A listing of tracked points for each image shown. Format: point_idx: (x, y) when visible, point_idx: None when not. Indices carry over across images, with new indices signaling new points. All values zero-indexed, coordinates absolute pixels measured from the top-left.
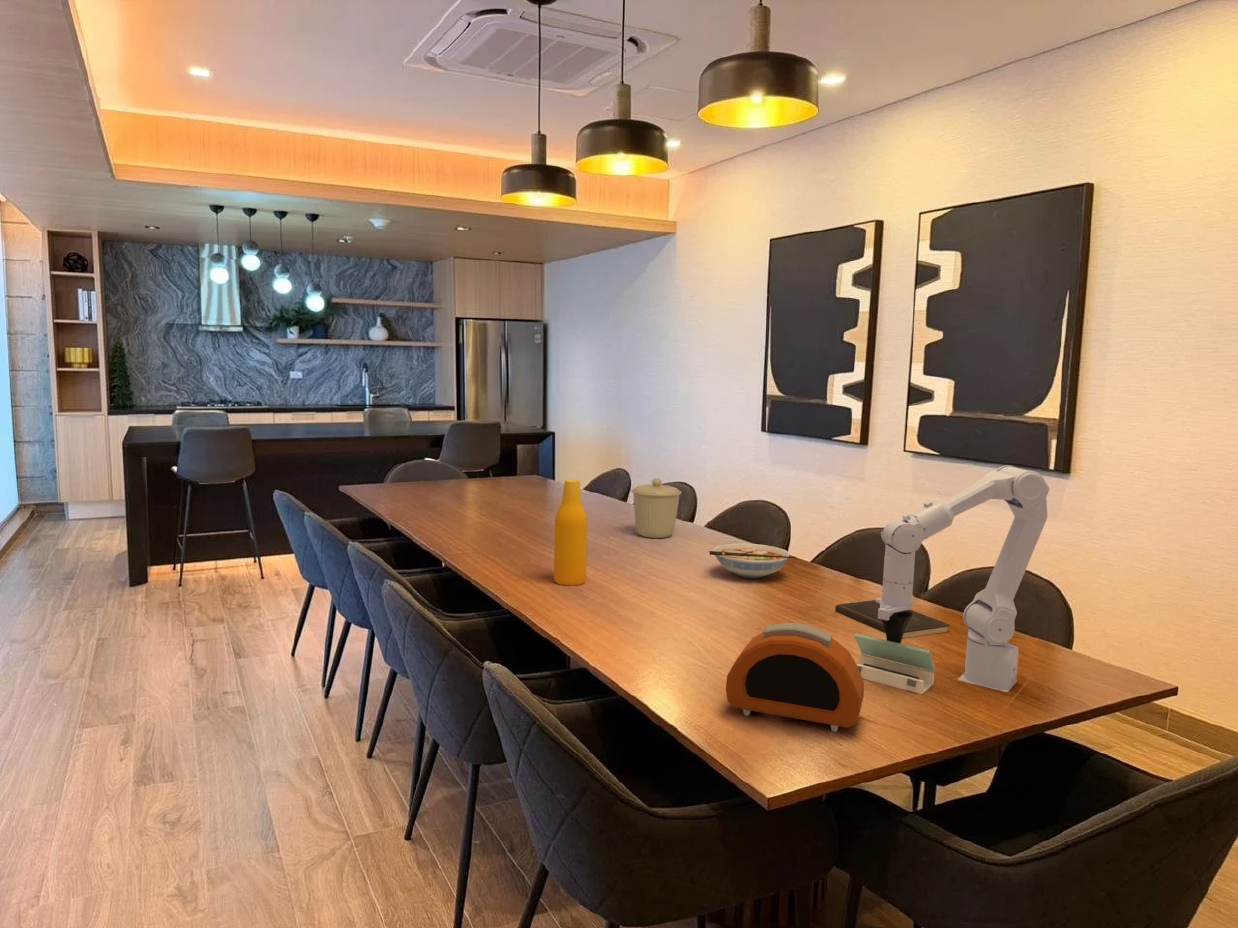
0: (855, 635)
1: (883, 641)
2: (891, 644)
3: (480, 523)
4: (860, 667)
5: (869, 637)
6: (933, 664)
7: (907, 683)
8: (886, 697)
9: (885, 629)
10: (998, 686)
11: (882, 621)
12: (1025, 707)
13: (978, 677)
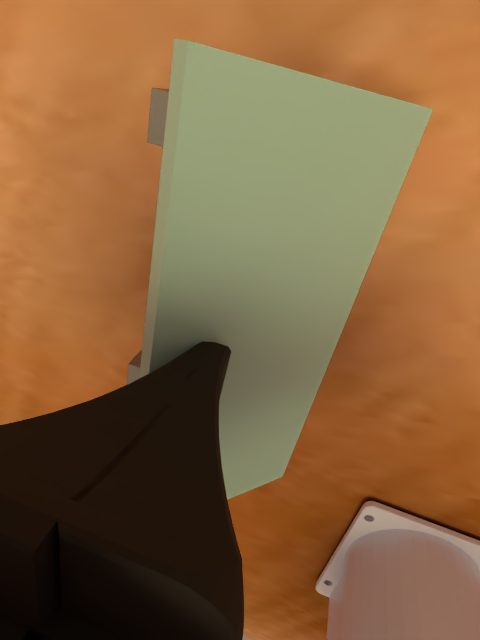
0: (177, 53)
1: (148, 326)
2: (142, 372)
3: None
4: (150, 142)
5: (165, 214)
6: (244, 488)
7: (136, 355)
8: (84, 266)
9: (113, 392)
10: (338, 587)
11: (28, 420)
12: (243, 588)
13: (347, 569)
